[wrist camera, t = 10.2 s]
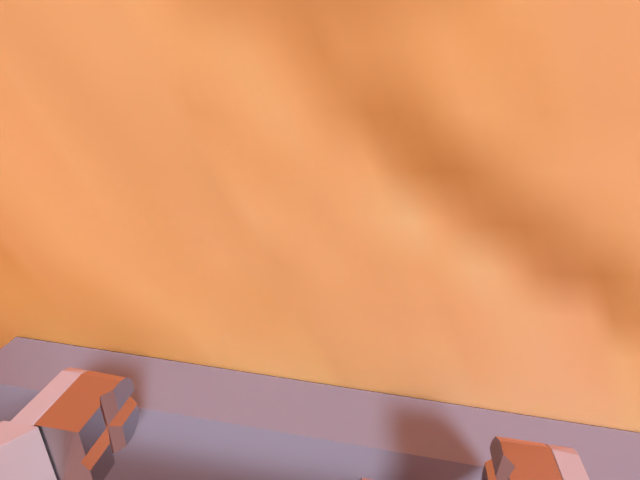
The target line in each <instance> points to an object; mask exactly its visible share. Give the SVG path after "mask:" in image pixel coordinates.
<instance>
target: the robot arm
mask: <svg viewBox="0 0 640 480" xmlns="http://www.w3.org/2000/svg"><path fill="white" fill-rule="evenodd" d="M134 390H135V389H134V385H133V381H132V379H130V378H127V377H121V376H116V375H111V374H106V373H100V372H95V371H90V370H83V369H78V368H72V367H69V368H67V369H64V370H62V371H61V372H60V373H59V374H58V375H57V376H56V377H55V378H54V379H53V380H52V381H51V382H50V383H49V384H48V385H47V386H46V387H45V388H44V389H43V390H42V391H41V392H40V393H38V394H37V395H36V396H35V397H34V398H33V399H32V400H31V401H30V402H29V403H28V404H27V405H26V406H25V407H24V408H23V409H22V410H21V411H20V412H19V413H18V414H17V415H16V416H15V417H14V418H13V419H12V420H11V421H2V422H0V480H104V479H105V477H106V476H107V474H108V473H109V472H110V470H111V469H112V467H113V466H114V464H115V456H114V453H116V452H118V451H119V450H121V449H122V448H124V447H126V446H127V444H128V443H129V441H130V440H131V438H132V437H133V435H134V432H135V430H136V427H137V424H138V420H139V408H138V404H137V403H136V402H135V400H134V399H133V398H132V397H131V394H132V393H133V392H134ZM490 453H491V458H492V459H490V460H488V461H487V462H485V464H484V468H483V472H482V480H590V479H589V477H588V475H587V472H586V470H585V468H584V466H583V463H582V461H581V459H580V457H579V454H578V453H577V452H576V451H575V449H574V448H569V447H563V446H556V445H550V444H544V443H539V442H532V441H525V440H518V439H512V438H505V437H498V436H495V437H494V438H493V440H492V442H491V445H490Z"/></svg>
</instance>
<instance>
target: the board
mask: <svg viewBox="0 0 640 480" xmlns="http://www.w3.org/2000/svg"><path fill="white" fill-rule="evenodd" d="M69 367H72V368H78V369H83V370H90V371H95V372H100V373H106V374H111V375H116V376H121V377H127V378H130V379H132V381H133V385H134V389H135V390H134V392H133V393H132V394H131V397H132V398H133V399H134V400H135V402H136V403H137V404H138V408H139V420H138V424H137V427H136V430H135V432H134V435H133V437H132V438H131V440H130V441H129V443H128V444H127V446H126V447H124V448H122V449H121V450H119V451H118V452H116V453H114V456H115V464H114V466H113V467H112V469H111V470H110V472H109V473H108V474H107V476H106V477H105V479H104V480H362V478H367V479H373V480H482V472H483V468H484V464H485V462H487V461H488V460H490V459H492V458H491V453H490V445H491V442H492V440H493V438H494V437H495V436H498V437H505V438H512V439H518V440H525V441H532V442H539V443H544V444H550V445H556V446H563V447H569V448H574V449H575V451H576V452H577V453H578V454H579V457H580V459H581V461H582V463H583V466H584V468H585V470H586V472H587V475H588V477H589V479H590V480H640V433H637V432H630V431H624V430H617V429H611V428H605V427H598V426H592V425H585V424H579V423H572V422H566V421H559V420H553V419H546V418H540V417H533V416H527V415H520V414H514V413H507V412H501V411H494V410H488V409H481V408H475V407H468V406H462V405H456V404H449V403H443V402H436V401H430V400H423V399H417V398H410V397H404V396H397V395H391V394H384V393H378V392H371V391H365V390H358V389H352V388H345V387H339V386H332V385H326V384H320V383H313V382H307V381H300V380H294V379H287V378H281V377H274V376H268V375H261V374H255V373H248V372H242V371H235V370H229V369H222V368H216V367H209V366H203V365H196V364H190V363H183V362H177V361H171V360H164V359H158V358H151V357H145V356H138V355H132V354H125V353H119V352H112V351H106V350H99V349H93V348H86V347H80V346H73V345H67V344H60V343H54V342H47V341H41V340H35V339H28V338H22V337H15V338H14V339H13V340H12V341H10V342H9V343H8V344H7V345H5V346H4V347H3V348H1V349H0V422H2V421H11V420H12V419H13V418H14V417H15V416H16V415H17V414H18V413H19V412H20V411H21V410H22V409H23V408H24V407H25V406H26V405H27V404H28V403H29V402H30V401H31V400H32V399H33V398H34V397H35V396H36V395H37V394H38V393H40V392H41V391H42V390H43V389H44V388H45V387H46V386H47V385H48V384H49V383H50V382H51V381H52V380H53V379H54V378H55V377H56V376H57V375H58V374H59V373H60V372H61V371H62V370H64V369H67V368H69Z"/></svg>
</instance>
